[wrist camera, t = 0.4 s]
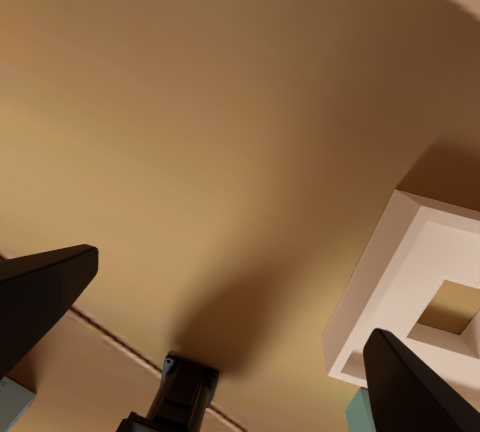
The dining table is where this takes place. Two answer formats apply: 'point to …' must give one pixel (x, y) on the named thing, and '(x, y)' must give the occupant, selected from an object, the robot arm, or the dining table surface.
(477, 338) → the box
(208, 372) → the robot arm
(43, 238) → the dining table surface
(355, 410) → the tall teal block
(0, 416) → the gum box
